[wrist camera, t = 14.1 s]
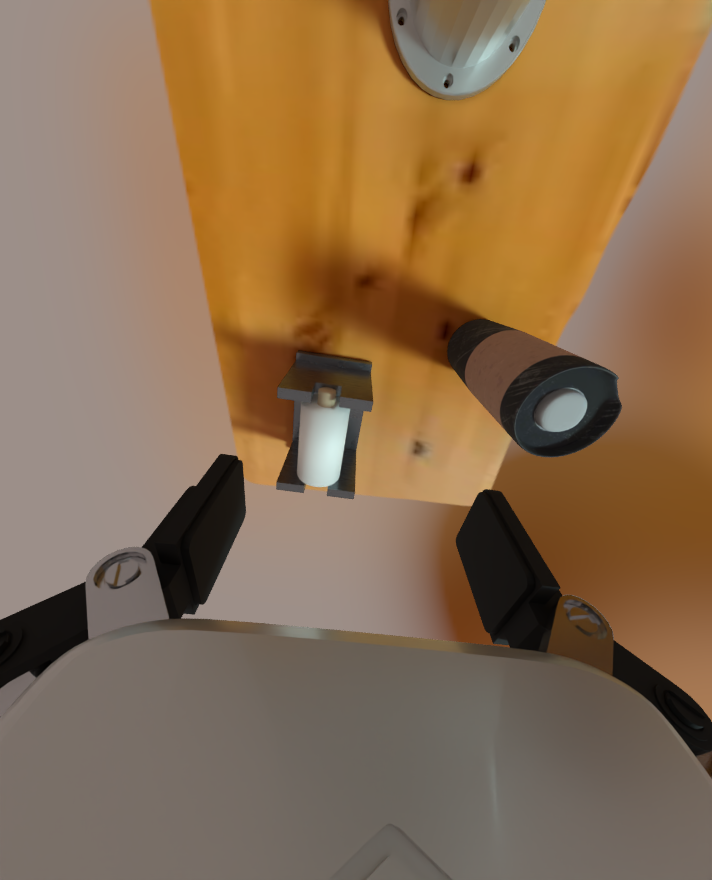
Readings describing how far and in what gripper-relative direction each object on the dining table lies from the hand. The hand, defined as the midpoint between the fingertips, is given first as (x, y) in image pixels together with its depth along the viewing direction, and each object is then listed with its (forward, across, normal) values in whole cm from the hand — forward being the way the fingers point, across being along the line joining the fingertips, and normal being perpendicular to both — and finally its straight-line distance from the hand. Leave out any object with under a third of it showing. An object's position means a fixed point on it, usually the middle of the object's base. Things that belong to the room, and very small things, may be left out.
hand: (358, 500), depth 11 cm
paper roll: (+24, +3, +11) cm, 27 cm away
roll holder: (+30, +3, +11) cm, 32 cm away
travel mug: (+31, -15, -1) cm, 34 cm away
